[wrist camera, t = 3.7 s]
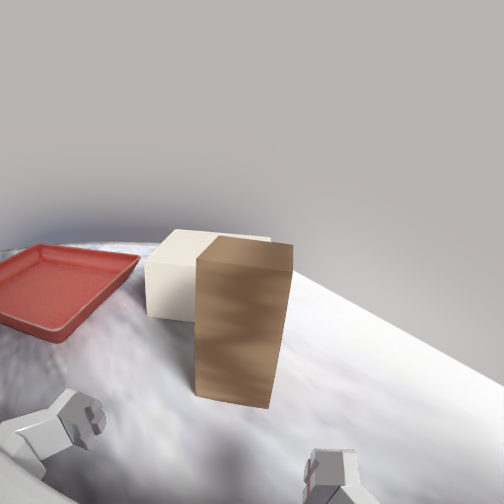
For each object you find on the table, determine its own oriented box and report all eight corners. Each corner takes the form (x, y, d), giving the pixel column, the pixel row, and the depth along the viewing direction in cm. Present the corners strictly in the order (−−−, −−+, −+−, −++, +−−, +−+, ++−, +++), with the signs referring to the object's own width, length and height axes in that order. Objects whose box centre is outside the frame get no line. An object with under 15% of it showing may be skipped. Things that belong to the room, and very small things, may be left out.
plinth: (147, 318, 28) (144, 261, 26) (174, 273, 39) (175, 229, 37) (270, 331, 28) (278, 273, 26) (265, 281, 39) (270, 237, 38)
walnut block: (195, 395, 19) (196, 258, 16) (212, 355, 23) (218, 235, 20) (268, 409, 18) (292, 272, 15) (273, 365, 23) (293, 244, 20)
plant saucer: (-43, 315, 19) (-51, 288, 18) (41, 262, 37) (38, 241, 36) (66, 365, 19) (57, 331, 18) (144, 280, 36) (143, 255, 35)
